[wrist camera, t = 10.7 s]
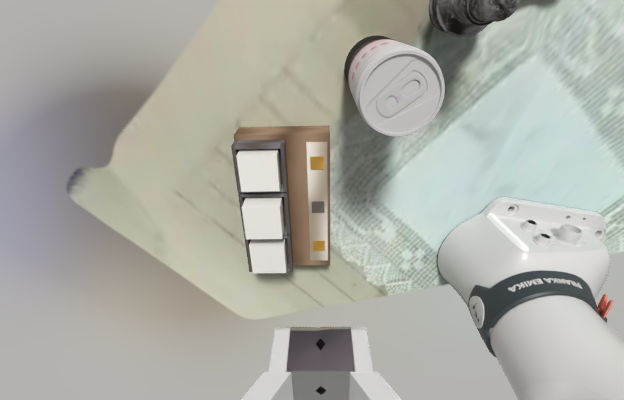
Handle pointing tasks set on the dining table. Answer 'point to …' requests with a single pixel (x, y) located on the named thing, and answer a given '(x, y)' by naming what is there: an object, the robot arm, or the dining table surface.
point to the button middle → (263, 217)
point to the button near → (259, 170)
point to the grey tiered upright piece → (469, 14)
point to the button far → (268, 255)
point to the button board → (296, 187)
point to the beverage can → (394, 85)
